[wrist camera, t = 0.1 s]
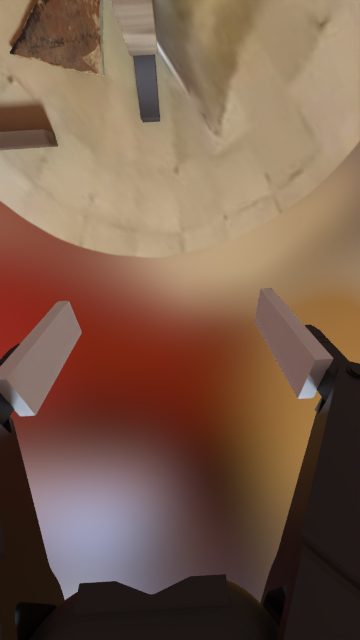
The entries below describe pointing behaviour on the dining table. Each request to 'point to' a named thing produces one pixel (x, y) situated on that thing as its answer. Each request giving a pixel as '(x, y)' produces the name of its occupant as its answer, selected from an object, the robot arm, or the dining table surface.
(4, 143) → the walnut bay
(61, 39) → the shard
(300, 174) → the dining table surface
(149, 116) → the scraper
